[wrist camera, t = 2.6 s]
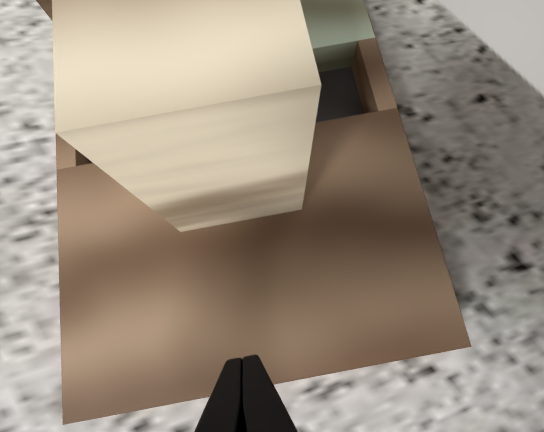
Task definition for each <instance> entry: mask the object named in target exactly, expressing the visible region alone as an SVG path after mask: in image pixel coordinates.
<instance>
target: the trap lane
mask: <svg viewBox="0 0 544 432" xmlns="http://www.w3.org/2000/svg"><path fill="white" fill-rule="evenodd" d="M36 1H37V2H38V3H39V5H40V6H41V7H42V8H43V10H44V11H45V12H46V13H47V15H48V16H49V17H50V18H51V20H52V0H36ZM300 2H301V6H302V10H303V14H304V18H305V22H306V26H307V30H308V34H309V38H310V42H311V46H312V50H313V54H314V58H315V62H316V65H317V69H318V73H319V77H320V81H321V90H320V97H319V103H318V109H317V116H316V122H315V129H314V135H313V141H312V148H311V154H310V161H309V167H308V173H307V180H306V186H305V193H304V199H303V205H302V210H297V211H292V212H286V213H281V214H275V215H270V216H265V217H259V218H254V219H248V220H243V221H238V222H232V223H227V224H221V225H216V226H211V227H205V228H200V229H194V230H189V231H184V232H180V231H179V230H178V229H176V228H175V227H174V226H173V225H171V224H170V223H169V222H167V221H166V220H165V219H164V218H162V217H161V216H160V215H159V214H157V213H156V212H155V211H154V210H152V209H151V208H150V207H148V206H147V205H146V204H145V203H143V202H142V201H141V200H140V199H138V198H137V197H136V196H135V195H133V194H132V193H131V192H130V191H128V190H127V189H126V188H124V187H123V186H122V185H121V184H119V183H118V182H117V181H116V180H114V179H113V178H112V177H111V176H109V175H108V174H107V173H105V172H104V171H103V170H102V169H100V168H99V167H98V166H97V165H95V164H94V163H93V162H92V161H90V160H89V159H88V158H86V157H85V156H84V155H83V154H81V153H80V152H79V151H78V150H76V149H75V148H74V147H73V146H71V145H70V144H69V143H68V142H66V141H65V140H64V139H62V138H61V137H60V136H59V135H57V134H56V164H57V205H58V245H59V286H60V327H61V367H62V408H63V425H64V424H69V423H75V422H80V421H85V420H90V419H96V418H101V417H106V416H111V415H116V414H122V413H127V412H132V411H137V410H143V409H148V408H153V407H158V406H164V405H169V404H174V403H179V402H184V401H190V400H195V399H200V398H205V397H210V395H211V393H212V391H213V389H214V386H215V384H216V382H217V380H218V377H219V375H220V373H221V371H222V369H223V366H224V364H225V362H226V361H227V360H229V359H233V358H238V357H241V358H242V359H243V357H245V356H249V355H254V354H257V355H258V356H259V357H260V359H261V361H262V363H263V365H264V367H265V369H266V371H267V373H268V375H269V377H270V379H271V381H272V383H273V384H278V383H284V382H289V381H294V380H299V379H305V378H310V377H315V376H320V375H325V374H331V373H336V372H341V371H346V370H352V369H357V368H362V367H367V366H372V365H378V364H383V363H388V362H393V361H399V360H404V359H409V358H414V357H419V356H425V355H430V354H435V353H440V352H446V351H451V350H456V349H461V348H466V347H471V344H470V340H469V337H468V334H467V331H466V327H465V324H464V321H463V318H462V315H461V311H460V308H459V305H458V302H457V299H456V295H455V292H454V289H453V286H452V282H451V279H450V276H449V273H448V270H447V266H446V263H445V260H444V257H443V253H442V250H441V247H440V244H439V241H438V237H437V234H436V231H435V228H434V225H433V221H432V218H431V215H430V212H429V208H428V205H427V202H426V199H425V196H424V192H423V189H422V186H421V183H420V179H419V176H418V173H417V170H416V167H415V163H414V160H413V157H412V154H411V151H410V147H409V144H408V141H407V138H406V134H405V131H404V128H403V125H402V122H401V118H400V115H399V112H398V109H397V105H396V102H395V99H394V96H393V93H392V89H391V86H390V83H389V80H388V77H387V73H386V70H385V67H384V64H383V60H382V57H381V54H380V51H379V48H378V44H377V41H376V38H375V35H374V31H373V28H372V25H371V22H370V19H369V15H368V12H367V9H366V6H365V3H364V0H300ZM52 21H53V20H52Z"/></svg>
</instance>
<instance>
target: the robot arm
mask: <svg viewBox="0 0 544 432" xmlns="http://www.w3.org/2000/svg"><path fill="white" fill-rule="evenodd" d="M194 432H298V431H297V429H296V427H295V425H294V424H293V422H292V420H291V418H290V416H289V414H288V412H287V410H286V408H285V406H284V404H283V402H282V400H281V398H280V396H279V394H278V392H277V390H276V389H275V387H274V385H273V383H272V381H271V379H270V377H269V375H268V373H267V371H266V369H265V367H264V365H263V363H262V361H261V359H260V357H259V356H258V355H257V354H254V355H249V356H245V357H243V359H242V358H241V357H238V358H233V359H229V360H227V361H226V362H225V364H224V366H223V369H222V371H221V373H220V375H219V377H218V380H217V382H216V384H215V386H214V389H213V391H212V393H211V395H210V398H209V400H208V402H207V404H206V407H205V409H204V411H203V413H202V416H201V418H200V420H199V422H198V425H197V427H196V429H195V431H194Z"/></svg>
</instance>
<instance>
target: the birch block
mask: <svg viewBox="0 0 544 432" xmlns="http://www.w3.org/2000/svg"><path fill="white" fill-rule="evenodd" d="M52 20H53V61H54V102H55V133H56V134H57V135H59V136H60V137H61V138H62V139H64V140H65V141H66V142H68V143H69V144H70V145H71V146H73V147H74V148H75V149H76V150H78V151H79V152H80V153H81V154H83V155H84V156H85V157H86V158H88V159H89V160H90V161H92V162H93V163H94V164H95V165H97V166H98V167H99V168H100V169H102V170H103V171H104V172H105V173H107V174H108V175H109V176H111V177H112V178H113V179H114V180H116V181H117V182H118V183H119V184H121V185H122V186H123V187H124V188H126V189H127V190H128V191H130V192H131V193H132V194H133V195H135V196H136V197H137V198H138V199H140V200H141V201H142V202H143V203H145V204H146V205H147V206H148V207H150V208H151V209H152V210H154V211H155V212H156V213H157V214H159V215H160V216H161V217H162V218H164V219H165V220H166V221H167V222H169V223H170V224H171V225H173V226H174V227H175V228H176V229H178V230H179V231H180V232H184V231H189V230H194V229H200V228H205V227H211V226H216V225H221V224H227V223H232V222H238V221H243V220H248V219H254V218H259V217H265V216H270V215H275V214H281V213H286V212H292V211H297V210H302V205H303V199H304V193H305V186H306V180H307V173H308V167H309V161H310V154H311V148H312V141H313V135H314V129H315V122H316V116H317V109H318V103H319V97H320V90H321V81H320V77H319V73H318V69H317V65H316V62H315V58H314V54H313V50H312V46H311V42H310V38H309V34H308V30H307V26H306V22H305V18H304V14H303V10H302V6H301V2H300V0H52Z"/></svg>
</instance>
